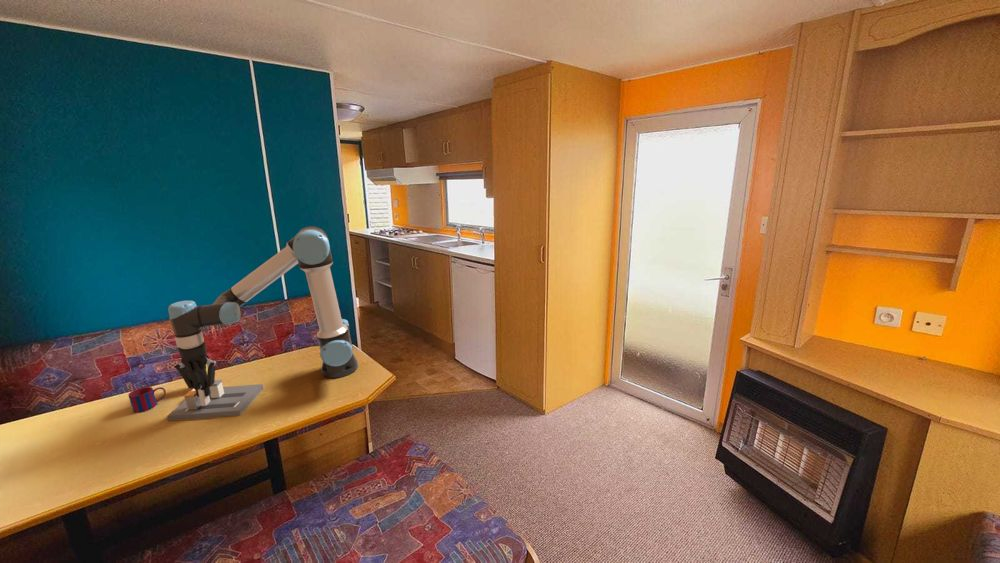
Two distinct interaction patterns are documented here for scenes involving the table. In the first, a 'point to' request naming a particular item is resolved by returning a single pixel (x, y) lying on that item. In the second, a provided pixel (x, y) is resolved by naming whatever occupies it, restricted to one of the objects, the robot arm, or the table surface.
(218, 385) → the slider cream
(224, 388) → the panel
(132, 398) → the mug
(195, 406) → the block
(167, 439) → the table surface
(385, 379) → the table surface
